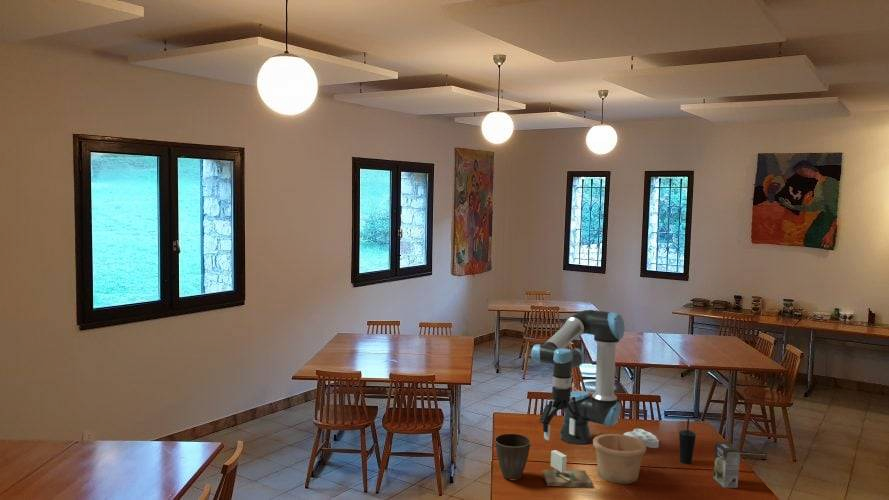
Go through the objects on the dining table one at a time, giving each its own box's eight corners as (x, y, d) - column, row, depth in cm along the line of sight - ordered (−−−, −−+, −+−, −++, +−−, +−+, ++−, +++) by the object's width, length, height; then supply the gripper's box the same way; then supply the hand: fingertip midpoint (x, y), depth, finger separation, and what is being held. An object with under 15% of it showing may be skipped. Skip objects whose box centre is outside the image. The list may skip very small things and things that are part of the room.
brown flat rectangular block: (547, 486, 265) (547, 481, 265) (542, 474, 277) (542, 469, 277) (591, 487, 265) (591, 482, 265) (584, 475, 277) (584, 470, 277)
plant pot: (506, 487, 263) (507, 449, 262) (487, 473, 276) (488, 436, 275) (536, 480, 270) (537, 443, 269) (516, 467, 283) (517, 431, 282)
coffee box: (712, 478, 277) (714, 441, 276) (727, 478, 277) (729, 441, 276) (723, 488, 268) (725, 450, 266) (738, 487, 268) (740, 450, 267)
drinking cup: (696, 466, 289) (698, 422, 288) (678, 464, 291) (680, 421, 289) (693, 459, 297) (695, 417, 295) (675, 457, 298) (678, 415, 296)
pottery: (587, 464, 289) (588, 432, 288) (637, 465, 288) (638, 434, 287) (597, 485, 267) (598, 451, 266) (650, 487, 266) (652, 453, 265)
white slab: (567, 481, 264) (568, 460, 264) (550, 471, 273) (551, 451, 273) (571, 480, 266) (572, 459, 265) (554, 470, 275) (555, 450, 274)
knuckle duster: (620, 436, 325) (646, 434, 328) (637, 449, 308) (665, 448, 311) (620, 429, 325) (647, 428, 328) (638, 442, 308) (666, 441, 311)
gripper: (543, 392, 258) (541, 444, 260) (590, 385, 271) (588, 434, 273) (532, 387, 265) (530, 438, 266) (578, 380, 278) (575, 429, 279)
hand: (559, 436), depth 270 cm, fingers open, 13 cm apart
